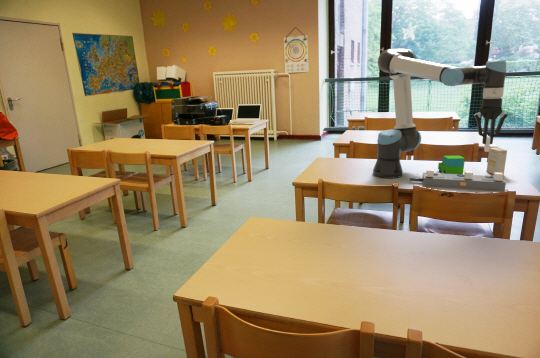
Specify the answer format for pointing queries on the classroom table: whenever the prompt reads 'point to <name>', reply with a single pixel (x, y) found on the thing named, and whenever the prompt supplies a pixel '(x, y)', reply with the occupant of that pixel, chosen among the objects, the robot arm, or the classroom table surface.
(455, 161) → the toy car
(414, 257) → the classroom table surface
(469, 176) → the slider middle
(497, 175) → the block
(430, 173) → the slider near arm
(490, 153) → the supplement box
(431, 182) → the power strip
